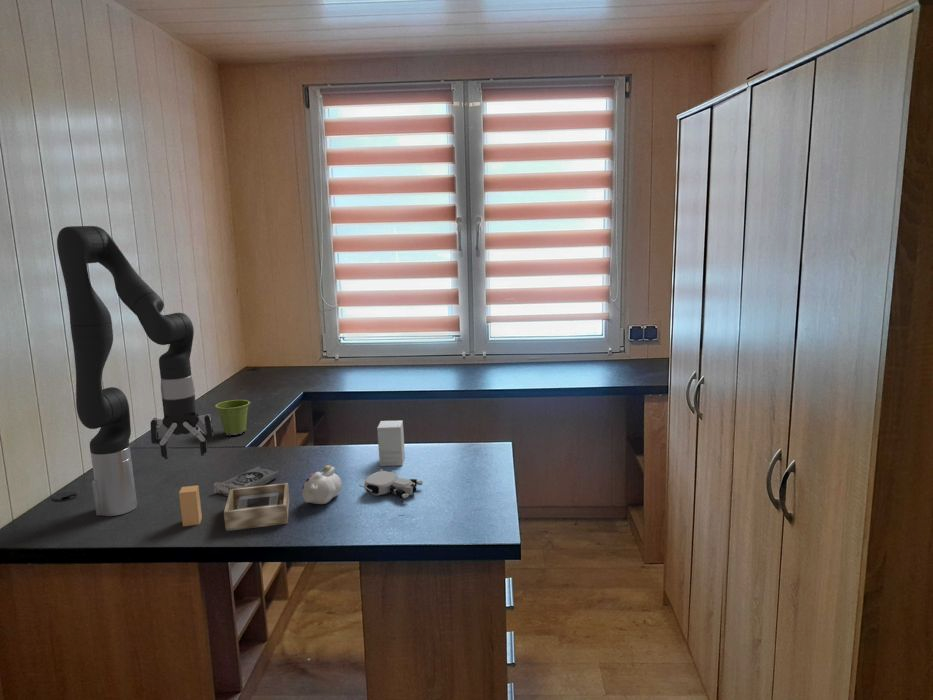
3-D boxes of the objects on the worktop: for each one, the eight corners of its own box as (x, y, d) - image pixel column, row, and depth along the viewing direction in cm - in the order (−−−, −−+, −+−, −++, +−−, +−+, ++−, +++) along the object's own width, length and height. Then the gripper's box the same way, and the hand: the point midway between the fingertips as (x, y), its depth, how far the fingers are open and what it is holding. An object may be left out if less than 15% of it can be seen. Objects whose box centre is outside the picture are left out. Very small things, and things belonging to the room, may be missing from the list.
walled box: (225, 531, 166) (223, 512, 165) (232, 506, 180) (230, 489, 179) (287, 523, 169) (286, 505, 168) (289, 500, 184) (288, 482, 183)
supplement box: (405, 457, 214) (403, 419, 212) (402, 466, 207) (400, 427, 204) (382, 458, 214) (380, 420, 212) (378, 466, 207) (376, 427, 205)
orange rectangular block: (182, 526, 169) (179, 493, 168) (185, 519, 173) (181, 487, 171) (199, 524, 170) (195, 491, 169) (201, 517, 174) (198, 485, 172)
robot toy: (425, 490, 190) (378, 481, 195) (425, 476, 189) (378, 466, 194) (406, 508, 179) (356, 497, 184) (406, 492, 178) (357, 482, 183)
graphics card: (244, 490, 183) (212, 482, 189) (244, 503, 184) (213, 495, 190) (286, 470, 198) (256, 463, 204) (287, 482, 199) (257, 475, 204)
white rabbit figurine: (332, 457, 189) (305, 470, 175) (354, 473, 188) (330, 488, 173) (316, 484, 191) (289, 499, 177) (339, 500, 190) (313, 517, 175)
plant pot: (259, 431, 245) (256, 401, 243) (232, 440, 235) (229, 410, 233) (237, 426, 251) (235, 397, 249) (211, 435, 241) (208, 405, 239)
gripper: (143, 400, 160) (151, 464, 163) (206, 395, 163) (213, 458, 166) (150, 393, 167) (158, 454, 170) (210, 388, 170) (217, 448, 174)
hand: (185, 456), depth 168 cm, fingers open, 8 cm apart
